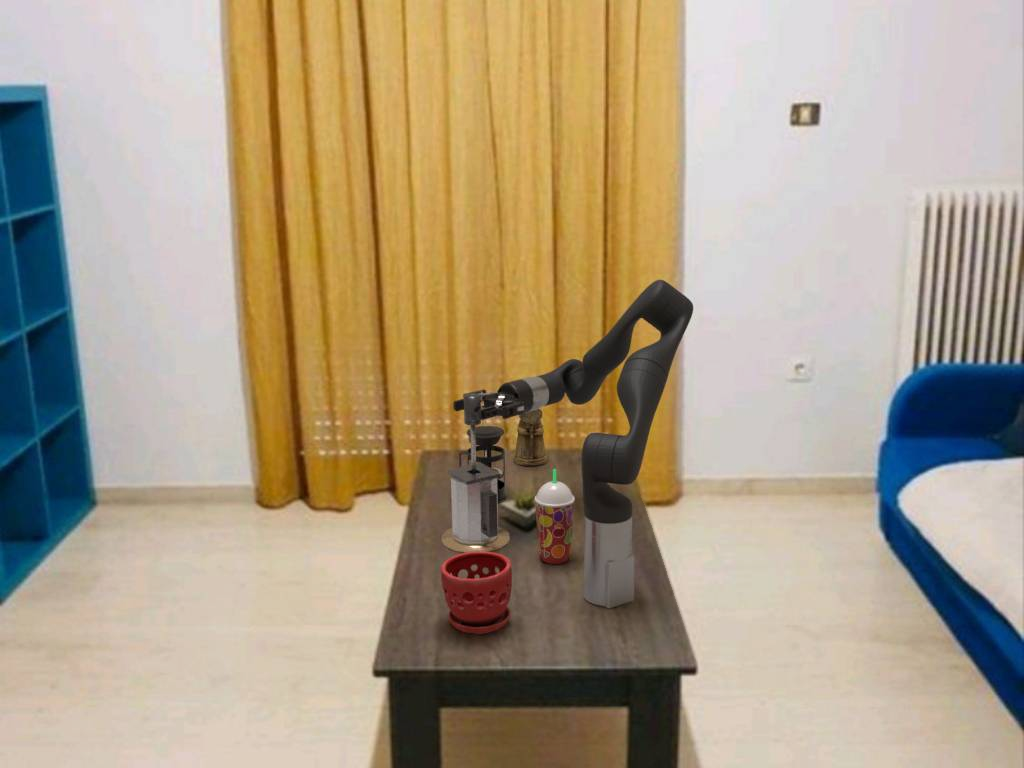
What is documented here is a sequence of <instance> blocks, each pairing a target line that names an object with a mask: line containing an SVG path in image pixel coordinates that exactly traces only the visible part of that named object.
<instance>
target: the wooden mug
mask: <svg viewBox="0 0 1024 768" xmlns="http://www.w3.org/2000/svg"><path fill="white" fill-rule="evenodd" d="M518 417H519V421H518V425H517V431H516V432H517V437H516V443H515V450H514V451H515V452H514V455H513V463H515V464H516V465H518V466H522V467H539V466H542V465H545V464H546V463H547V462H548V455H547V453H546V446H545V439H544V433H545V428H544V425H543V422H542V420H541V419H542V418H543V410H541V409H540V408H539V409H537V410H534V411H530V412H526V413H523V414H520V415H518Z"/></svg>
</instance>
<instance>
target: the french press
mask: <svg viewBox="0 0 1024 768" xmlns="http://www.w3.org/2000/svg"><path fill="white" fill-rule="evenodd" d="M504 434H505V430H504V429H503V428H501V427H499V426H498V427H497V426H492V425H487V419H484V425H481V426H475V440H476V452H481V451H483V456H477V455H476V463H483V464H484V465H486V466H488V467H490V468H491V469H493V470H495V471H497V472H498V473H500V474H501V477H499V478H497V494H498V502H500V501H502V500H504V499H505V498H506V499H507V494H506V462H505V461H506V459H505V458H506V457H505V456H506V454H505V453H506V452H505V451H506V450H505V448H503V447H502V446H499V445H497V444H498V442H499V441H500V439H501V438H502V437H503V435H504ZM466 436H468V442H469V443H470V444H471V428H468V430H467V431H466ZM492 451H493V452H499V454H497V455H494V456H492ZM500 453H501V454H500ZM458 454H459V455H458V461H459V463H458V464H459V467H463V465H462V455H467V456H466V457H467V466H468V465H470V461H471V447H470V448H468V449H467V450H460V451H459V453H458ZM501 460H503V470H502V469H501V468H498V467H494V466H492V463H495V462H498V461H499V462H500V461H501ZM459 467H458V468H459ZM502 478H503V480H501V479H502ZM506 499H505V500H506ZM505 500H504V501H505Z"/></svg>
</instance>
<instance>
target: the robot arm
mask: <svg viewBox="0 0 1024 768" xmlns="http://www.w3.org/2000/svg"><path fill="white" fill-rule="evenodd" d="M693 313H694V304H693V302H692V301H691V300H690V298H689V297H687V296H686V295H684V294H683V293H682V292H680V291H679V290H678V289H676V288H675V287H674V286H673V285H672V284H670V283H669V282H667V281H666V280H663V279H657V280H654V281H653V282H652V283H650V284H649V285H648V286H646V288H645V289H644V290H643V291H642V292H641V293H640V294H639V295H638V296H637V297H636V299H635V300H634V301H633V302H632V304H630V306H629V307H627V309H626V310H625V312H623V314H622V315H621V316H620V318H619V319H618V320H617V321H616V322H615V324H614V325H613V326H612V328H610V330H609V331H608V332H607V333H606V334H605V335H604V336H603V337H602V338H600V340H598V341H597V343H596V344H594V345H593V346H592V347H590V349H588V350H587V352H585V354H584V355H583V356H582V361H581V360H580V359H576V358H571V359H569V360H566V361H564V362H563V363H562V364H561V365H559V366H557V367H556V368H555V369H553V370H551V371H549V372H547V373H544V374H541V375H537V376H529V377H528V376H527V377H525V378H520V379H515V380H511V381H507V382H505V383H502V384H501V385H500V386H499V388H498V390H497V391H490V392H487V390H486V389H479V390H475V391H470V392H468V393H463V394H462V396H463V397H462V398H461V399H457V400H454V401H453V410H454V411H455V412H459V411H464V395H465V394H470V393H475V394H480V395H481V404H483V405H481V409H480V410H479V419H481V421H483V420H484V421H485V419H486V420H488V419H491V418H496V419H499V418H500V417H502V419H504V420H506V419H509V418H513V417H516V416H519V415H520V414H523V413H526V412H530V411H534V410H537V409H540V408H543V407H547V406H550V405H554V404H557V403H560V402H561V401H563V399H564V397H565V395H566V397H567V398H568V400H569V402H570V403H572V404H573V405H576V406H578V405H579V406H582V405H584V404H587V403H588V402H590V401H591V400H592V399H594V398H595V397H596V394H598V392H599V390H600V388H601V387H602V385H603V383H604V381H605V380H606V378H607V377H608V376H609V374H611V373H613V372H614V371H615V369H617V368H618V367H619V366H621V364H623V362H624V364H623V365H622V368H621V371H620V373H619V377H618V378H617V379H618V380H617V382H616V392H617V393H616V394H617V397H618V400H619V403H620V405H621V407H622V409H623V411H624V413H625V416H626V418H627V421H628V424H629V430H628V433H627V434H625V435H622V434H613V433H606V432H591V433H589V434H588V435H587V436H586V437H585V439H584V441H583V444H582V449H581V462H580V463H581V478H582V479H581V480H582V502H583V597H584V599H585V600H586V601H588V603H591V604H593V605H595V606H596V605H597V606H600V607H604V608H607V609H612V608H615V607H618V606H621V605H624V604H628V603H631V602H634V600H635V599H634V597H635V556H634V555H633V553H632V546H633V545H632V544H633V543H632V542H633V537H632V536H633V503H632V500H631V499H630V498H629V497H628V496H627V495H625V494H623V493H621V492H619V491H618V490H616V489H615V488H613V486H611V485H610V484H613V485H620V486H622V485H623V486H625V485H626V486H629V485H632V484H633V483H635V481H636V480H637V478H638V475H639V473H640V471H641V469H642V468H641V467H642V464H643V460H644V456H645V452H646V448H647V443H648V438H649V436H650V431H651V428H652V424H653V421H654V418H655V415H656V412H657V409H658V407H659V403H660V402H661V399H662V395H663V394H664V390H665V387H666V385H667V381H668V378H669V374H670V371H671V368H672V364H673V362H674V359H675V356H676V353H677V350H678V349H679V346H680V343H681V342H682V339H683V336H684V335H685V332H686V330H687V329H688V326H689V324H690V321H691V319H692V316H693ZM640 319H643V320H644V321H645V322H647V323H648V324H649V325H651V326H652V327H653V328H655V329H656V330H657V331H659V333H660V336H659V339H658V340H657V341H655V342H653V343H652V344H649V345H647V346H644V347H641V348H639V349H637V350H636V351H634V352H633V353H631V354H630V355H629V356H628V354H629V352H630V350H631V344H632V337H633V332H634V328H635V326H636V324H637V323H638V322H639V320H640Z"/></svg>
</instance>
